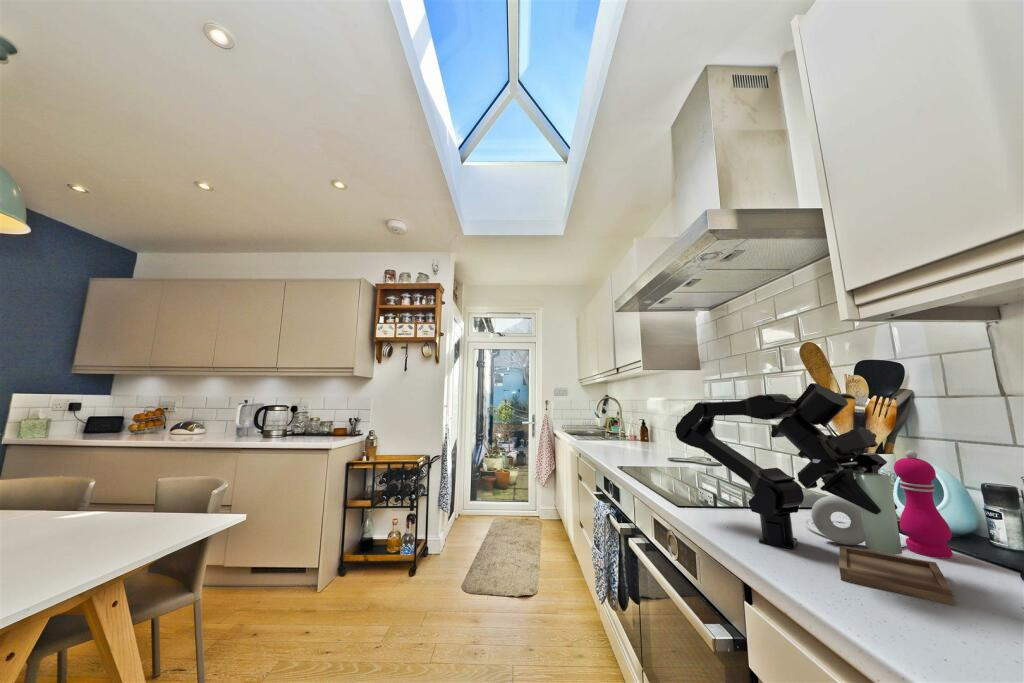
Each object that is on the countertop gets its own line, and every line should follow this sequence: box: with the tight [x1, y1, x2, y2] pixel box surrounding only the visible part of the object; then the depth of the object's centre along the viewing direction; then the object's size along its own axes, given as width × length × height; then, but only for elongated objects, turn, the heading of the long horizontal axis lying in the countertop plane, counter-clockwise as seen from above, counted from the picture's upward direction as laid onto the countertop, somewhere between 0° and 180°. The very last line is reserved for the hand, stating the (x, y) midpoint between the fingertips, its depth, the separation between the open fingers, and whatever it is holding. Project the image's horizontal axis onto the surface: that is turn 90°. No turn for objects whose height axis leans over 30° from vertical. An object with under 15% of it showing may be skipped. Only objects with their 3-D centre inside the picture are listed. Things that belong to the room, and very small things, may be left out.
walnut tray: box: [838, 545, 955, 606], centre depth 66 cm, size 13×13×2 cm
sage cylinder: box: [855, 472, 903, 555], centre depth 67 cm, size 5×5×12 cm
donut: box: [810, 495, 865, 546], centre depth 81 cm, size 10×4×10 cm, turn 51°
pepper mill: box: [893, 449, 953, 559], centre depth 78 cm, size 7×7×20 cm
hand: (887, 511), depth 66 cm, fingers closed on sage cylinder, 5 cm apart
